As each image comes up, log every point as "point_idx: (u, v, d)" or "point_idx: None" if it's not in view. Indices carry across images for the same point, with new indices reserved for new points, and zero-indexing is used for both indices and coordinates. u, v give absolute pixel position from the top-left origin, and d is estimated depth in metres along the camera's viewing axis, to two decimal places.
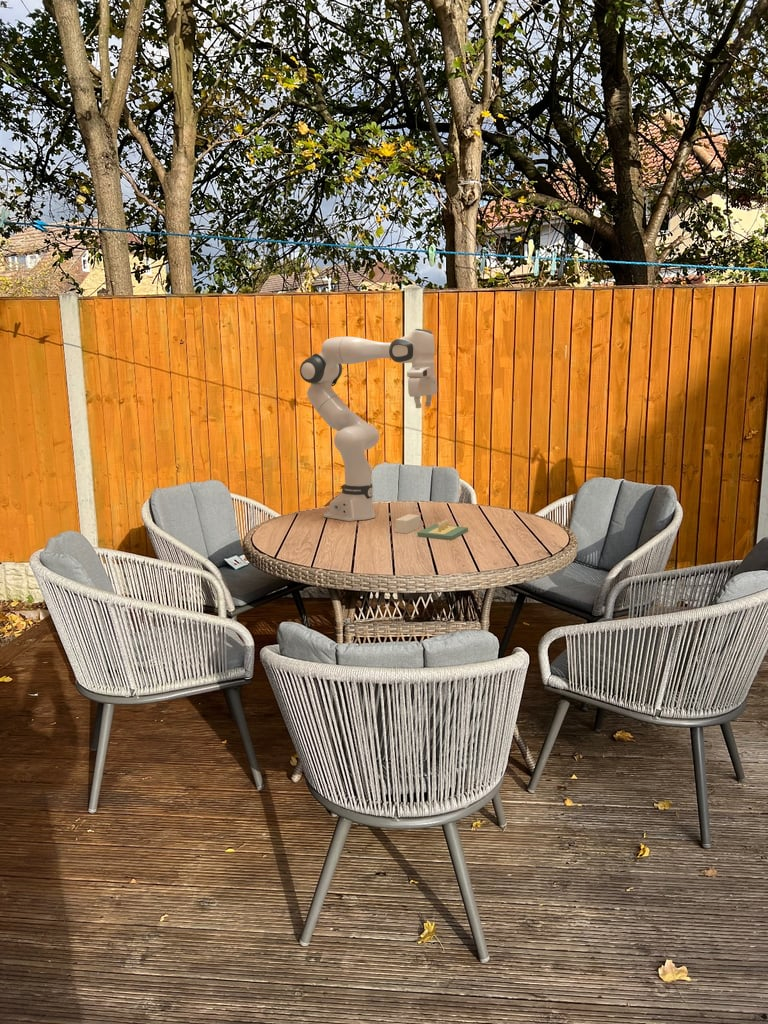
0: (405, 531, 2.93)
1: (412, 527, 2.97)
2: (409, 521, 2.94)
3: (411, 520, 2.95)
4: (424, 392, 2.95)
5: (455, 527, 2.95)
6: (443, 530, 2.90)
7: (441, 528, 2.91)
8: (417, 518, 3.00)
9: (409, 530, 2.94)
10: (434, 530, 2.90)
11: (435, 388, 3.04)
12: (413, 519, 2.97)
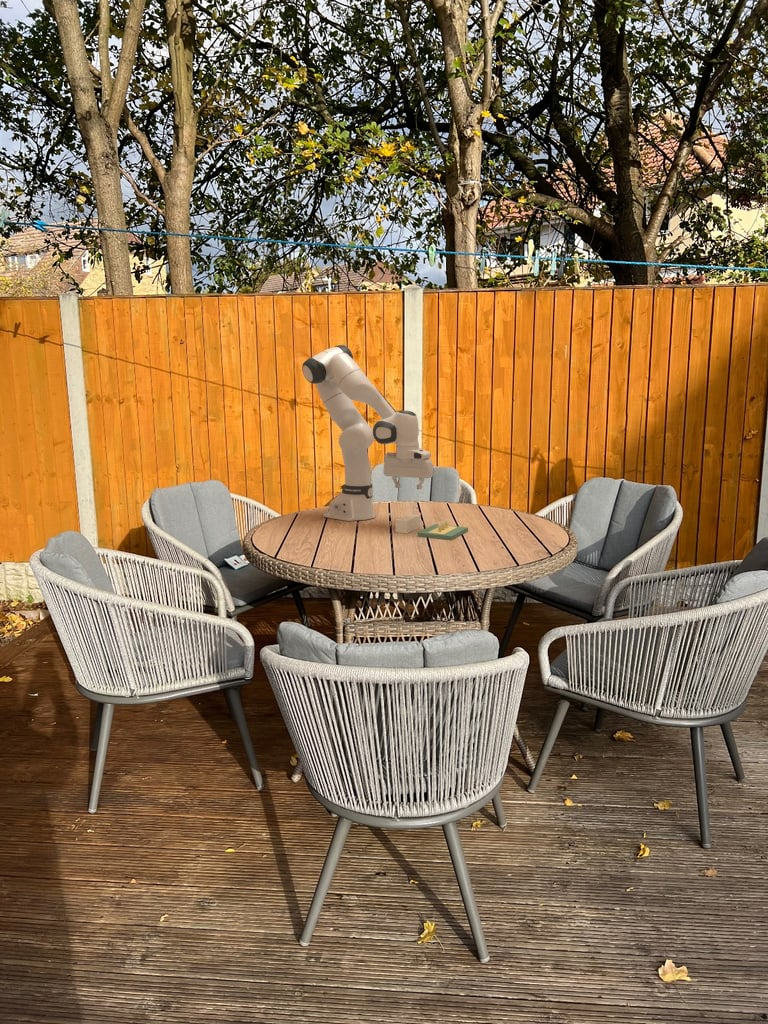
0: (405, 531, 2.93)
1: (412, 527, 2.97)
2: (409, 521, 2.94)
3: (411, 520, 2.95)
4: None
5: (455, 527, 2.95)
6: (443, 530, 2.90)
7: (441, 528, 2.91)
8: (417, 518, 3.00)
9: (409, 530, 2.94)
10: (434, 530, 2.90)
11: None
12: (413, 519, 2.97)
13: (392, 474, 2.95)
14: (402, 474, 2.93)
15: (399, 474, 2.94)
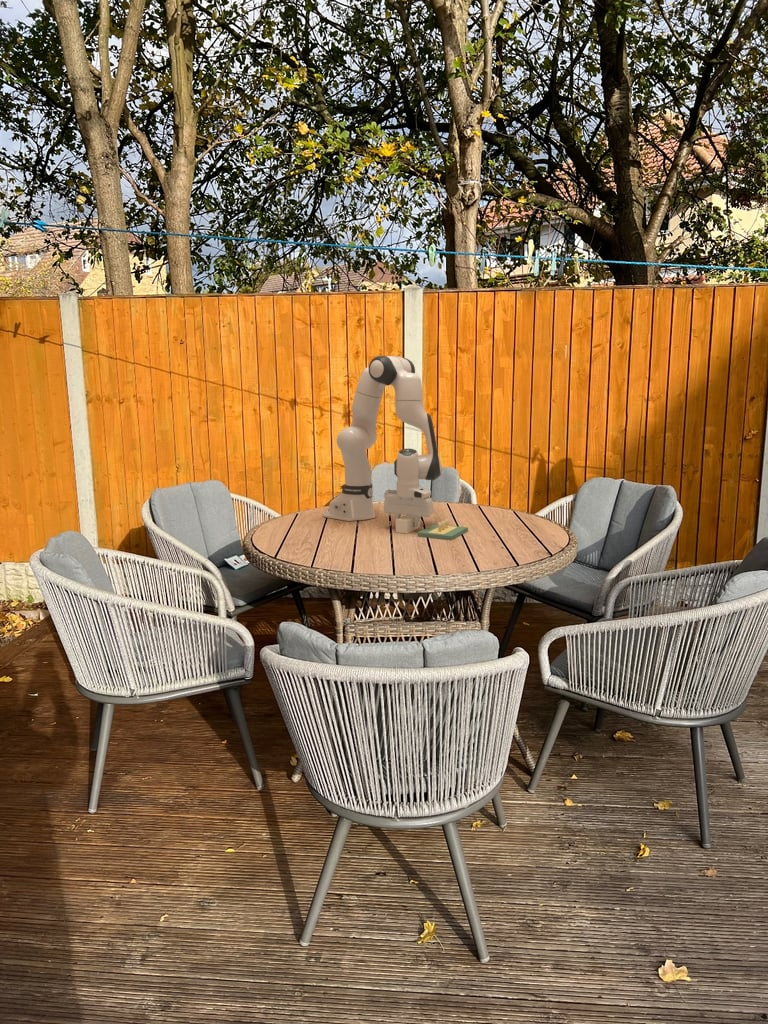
0: (405, 531, 2.93)
1: (413, 527, 2.97)
2: (409, 521, 2.93)
3: (411, 520, 2.95)
4: None
5: (455, 527, 2.95)
6: (443, 530, 2.90)
7: (441, 528, 2.91)
8: None
9: (409, 530, 2.94)
10: (434, 530, 2.90)
11: None
12: (413, 519, 2.96)
13: (392, 511, 2.98)
14: (402, 511, 2.96)
15: (399, 512, 2.97)
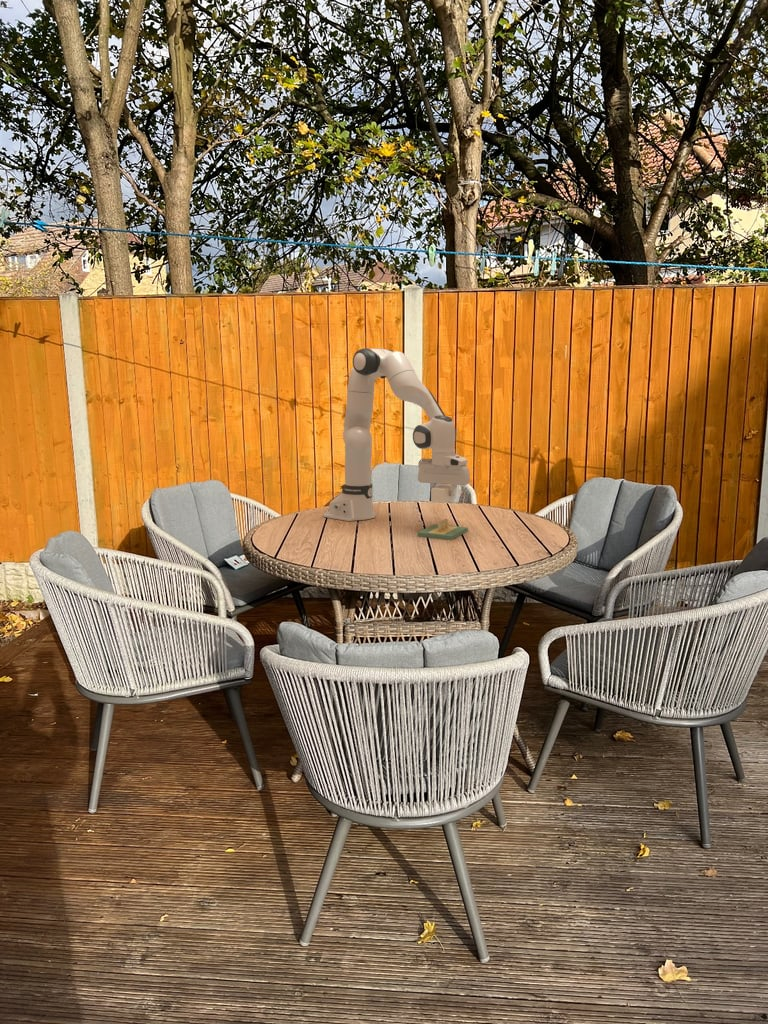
0: (441, 500, 2.83)
1: (448, 497, 2.87)
2: (445, 490, 2.84)
3: (447, 489, 2.85)
4: None
5: (455, 527, 2.95)
6: (443, 530, 2.90)
7: (441, 528, 2.91)
8: None
9: (445, 499, 2.84)
10: (434, 530, 2.90)
11: None
12: (449, 488, 2.87)
13: (427, 481, 2.89)
14: (437, 481, 2.87)
15: (434, 481, 2.87)
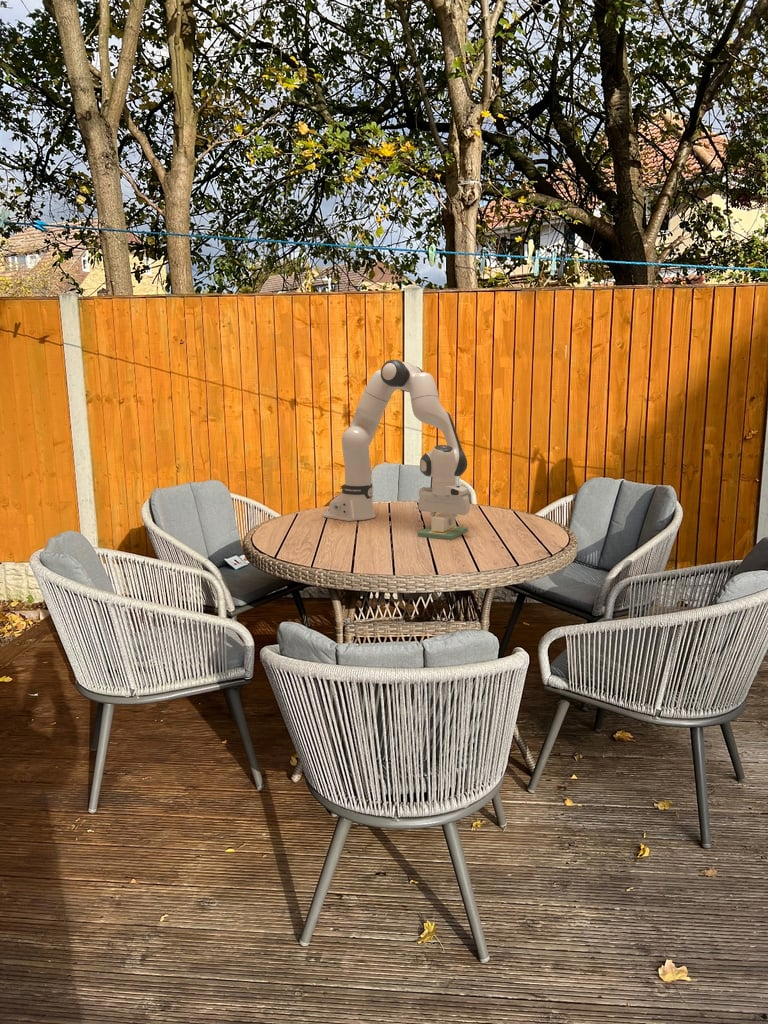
0: (441, 529, 2.85)
1: (448, 525, 2.89)
2: (445, 519, 2.86)
3: (447, 518, 2.88)
4: None
5: (455, 527, 2.95)
6: None
7: None
8: None
9: (445, 528, 2.87)
10: None
11: None
12: (449, 517, 2.89)
13: (427, 509, 2.91)
14: (437, 510, 2.89)
15: (435, 510, 2.90)
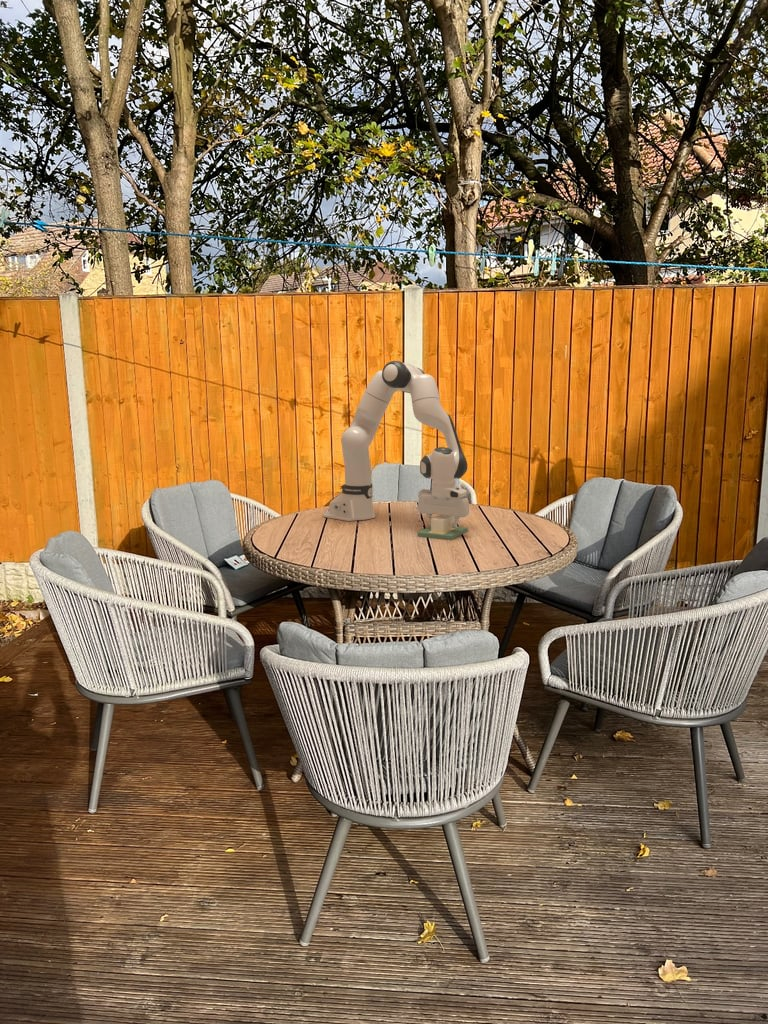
0: (441, 531, 2.86)
1: (448, 527, 2.89)
2: (445, 521, 2.86)
3: (447, 520, 2.88)
4: None
5: None
6: None
7: None
8: (452, 517, 2.92)
9: (445, 530, 2.87)
10: None
11: None
12: (449, 518, 2.89)
13: (427, 511, 2.91)
14: (437, 512, 2.89)
15: (434, 512, 2.90)
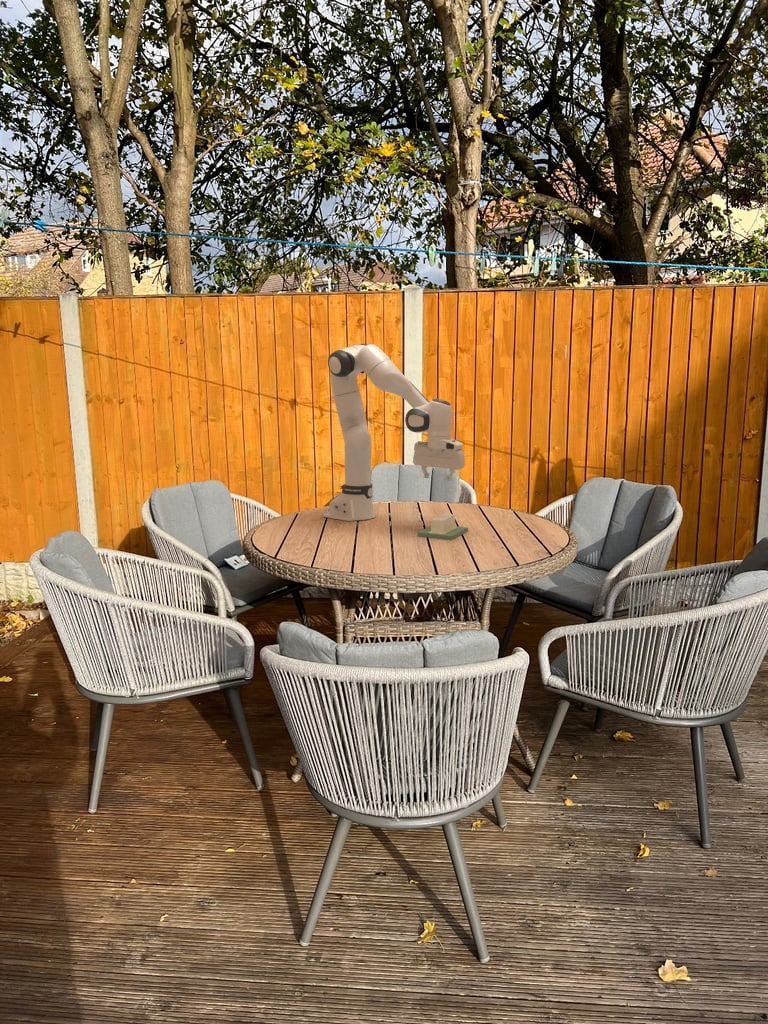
0: (441, 531, 2.86)
1: (448, 527, 2.89)
2: (445, 521, 2.86)
3: (447, 520, 2.88)
4: None
5: (455, 527, 2.95)
6: None
7: None
8: (452, 517, 2.92)
9: (445, 530, 2.87)
10: None
11: None
12: (449, 518, 2.89)
13: (422, 463, 2.90)
14: (432, 464, 2.88)
15: (429, 464, 2.88)
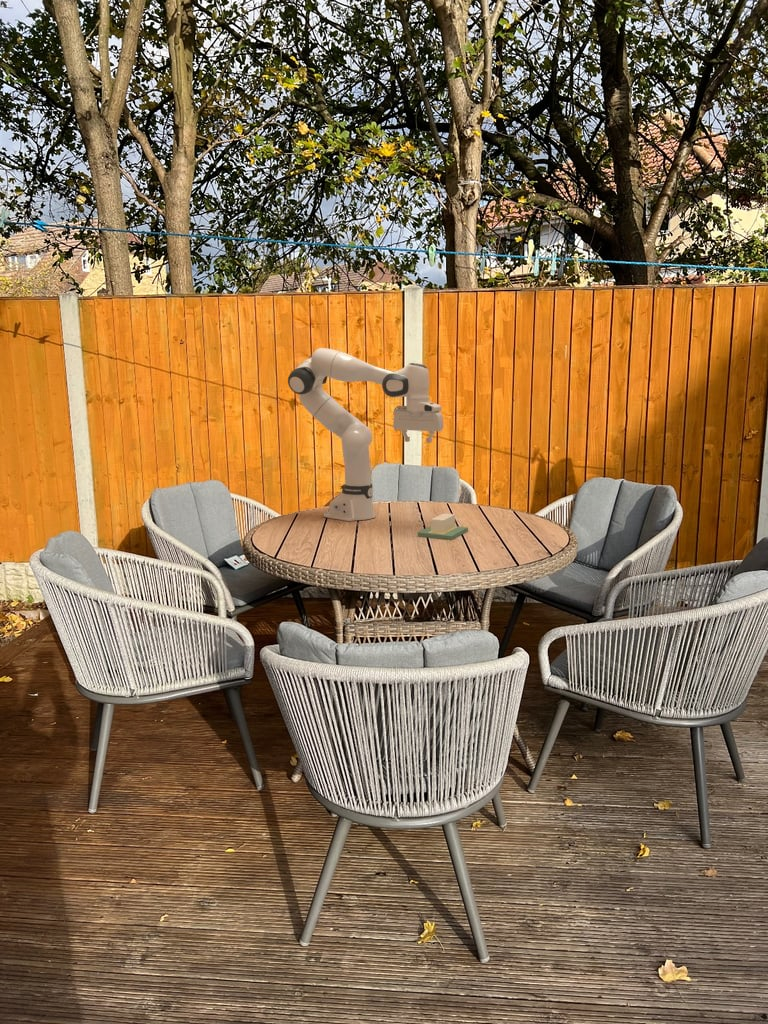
0: (441, 531, 2.86)
1: (448, 527, 2.89)
2: (445, 521, 2.86)
3: (447, 520, 2.88)
4: None
5: (455, 527, 2.95)
6: None
7: None
8: (452, 517, 2.92)
9: (445, 530, 2.87)
10: None
11: None
12: (449, 518, 2.89)
13: (402, 427, 2.95)
14: (412, 427, 2.93)
15: (409, 427, 2.94)
